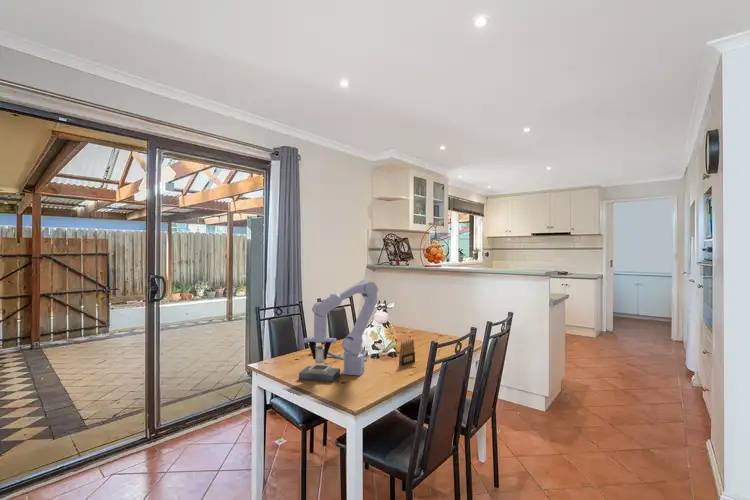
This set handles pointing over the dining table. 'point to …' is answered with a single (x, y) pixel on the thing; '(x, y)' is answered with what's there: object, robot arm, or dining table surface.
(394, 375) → the dining table surface
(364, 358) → the metal bracket
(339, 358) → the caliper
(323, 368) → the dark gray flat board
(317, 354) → the white capped cylinder
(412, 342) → the ammunition clip
